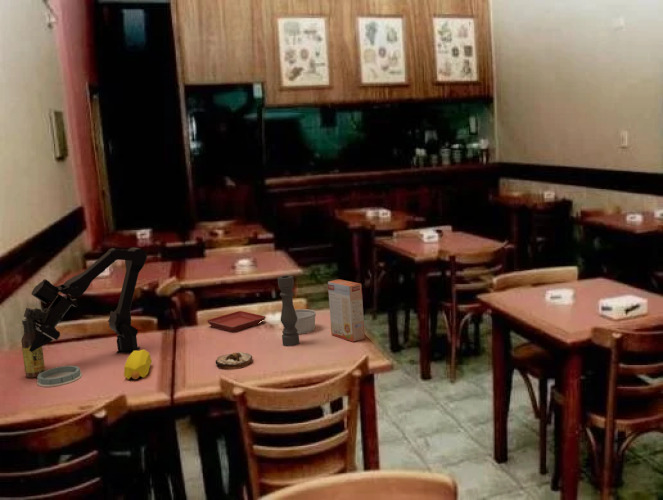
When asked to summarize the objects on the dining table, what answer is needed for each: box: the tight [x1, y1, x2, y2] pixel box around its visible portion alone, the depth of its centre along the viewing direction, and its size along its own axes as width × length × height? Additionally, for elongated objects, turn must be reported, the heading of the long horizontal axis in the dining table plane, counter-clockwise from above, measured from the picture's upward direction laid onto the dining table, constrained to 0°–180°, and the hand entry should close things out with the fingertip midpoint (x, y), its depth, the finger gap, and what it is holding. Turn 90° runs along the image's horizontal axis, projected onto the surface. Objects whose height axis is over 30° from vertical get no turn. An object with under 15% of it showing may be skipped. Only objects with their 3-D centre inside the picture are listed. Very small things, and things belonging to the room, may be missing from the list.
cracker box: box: [327, 279, 366, 343], centre depth 237 cm, size 14×6×21 cm, turn 34°
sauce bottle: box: [21, 318, 46, 379], centre depth 220 cm, size 7×6×20 cm
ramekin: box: [295, 308, 317, 335], centre depth 252 cm, size 13×13×7 cm
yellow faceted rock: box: [123, 348, 153, 381], centre depth 216 cm, size 18×7×8 cm
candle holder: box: [277, 274, 300, 347], centre depth 234 cm, size 6×6×25 cm
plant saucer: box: [206, 310, 267, 333], centre depth 267 cm, size 18×18×3 cm
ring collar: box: [36, 365, 83, 388], centre depth 215 cm, size 14×14×2 cm
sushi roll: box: [215, 351, 253, 371], centre depth 218 cm, size 15×15×4 cm
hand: (27, 349), depth 219 cm, fingers closed on sauce bottle, 6 cm apart
